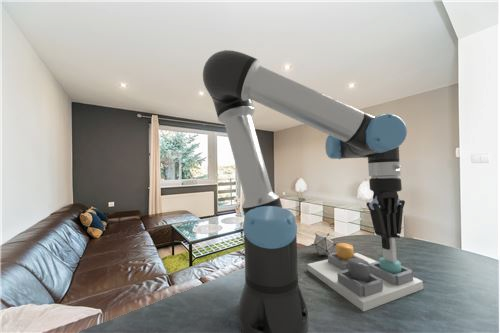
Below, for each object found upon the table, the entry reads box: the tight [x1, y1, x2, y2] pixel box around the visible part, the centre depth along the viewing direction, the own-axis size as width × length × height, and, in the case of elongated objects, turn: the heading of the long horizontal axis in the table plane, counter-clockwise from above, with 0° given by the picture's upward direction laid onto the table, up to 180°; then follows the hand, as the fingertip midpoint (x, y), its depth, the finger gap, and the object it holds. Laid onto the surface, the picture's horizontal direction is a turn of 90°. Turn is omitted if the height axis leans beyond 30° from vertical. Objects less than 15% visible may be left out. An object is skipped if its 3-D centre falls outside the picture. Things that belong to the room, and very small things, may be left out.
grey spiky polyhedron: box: [311, 232, 337, 257], centre depth 72 cm, size 9×8×10 cm
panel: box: [307, 252, 424, 312], centre depth 55 cm, size 22×20×4 cm
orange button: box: [335, 242, 355, 260], centre depth 60 cm, size 5×5×4 cm
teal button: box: [378, 256, 402, 275], centre depth 53 cm, size 5×5×4 cm
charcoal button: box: [348, 258, 370, 281], centre depth 49 cm, size 5×5×4 cm
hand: (389, 260), depth 53 cm, fingers closed
